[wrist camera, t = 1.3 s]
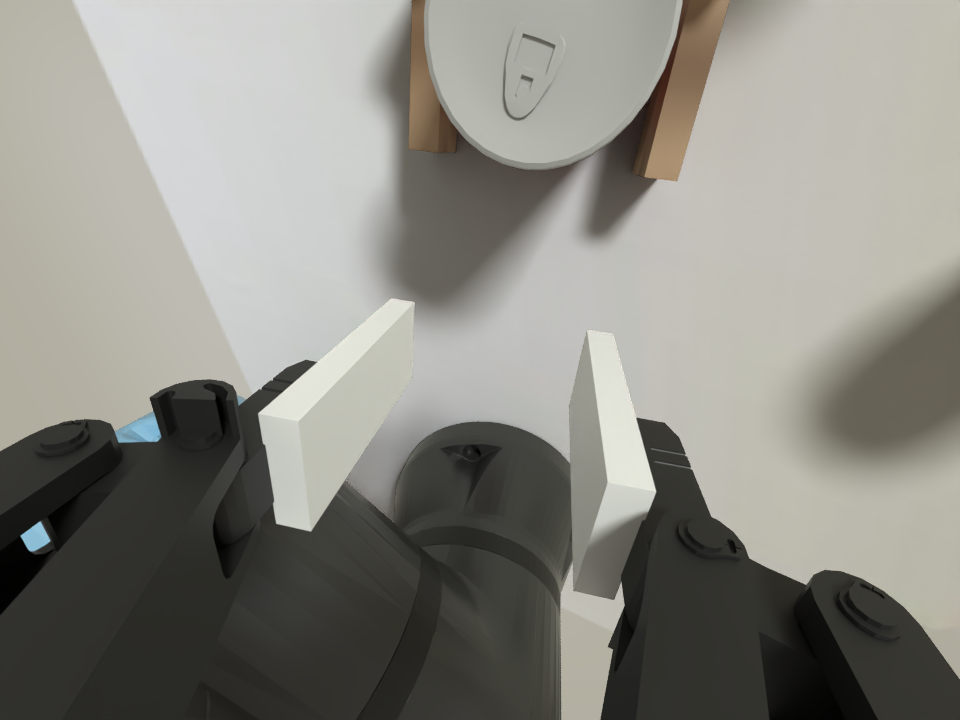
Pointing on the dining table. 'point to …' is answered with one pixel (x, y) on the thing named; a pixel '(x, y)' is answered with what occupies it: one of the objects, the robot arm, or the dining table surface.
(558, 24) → the canned food
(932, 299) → the dining table surface
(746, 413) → the dining table surface
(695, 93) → the chute
